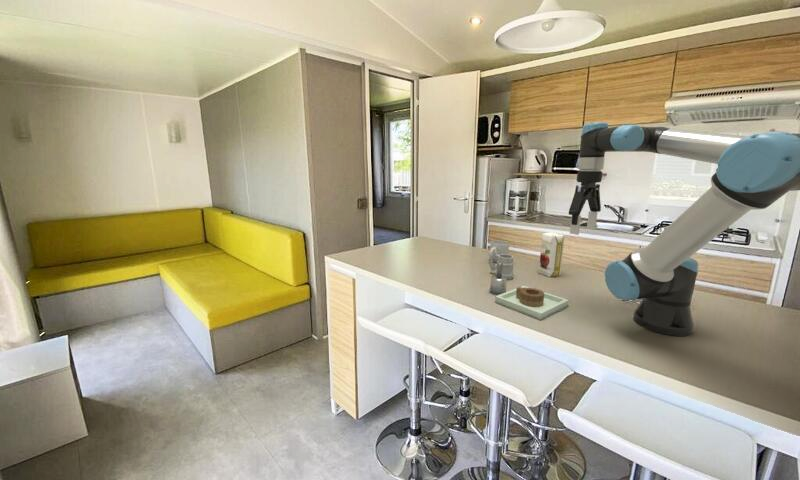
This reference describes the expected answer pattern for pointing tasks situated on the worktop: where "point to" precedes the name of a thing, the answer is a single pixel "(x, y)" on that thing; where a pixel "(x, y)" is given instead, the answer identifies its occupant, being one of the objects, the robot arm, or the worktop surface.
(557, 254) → the juice carton
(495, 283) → the grey bottle
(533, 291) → the ring
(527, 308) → the tray
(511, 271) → the mug
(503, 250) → the mug
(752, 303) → the worktop surface
